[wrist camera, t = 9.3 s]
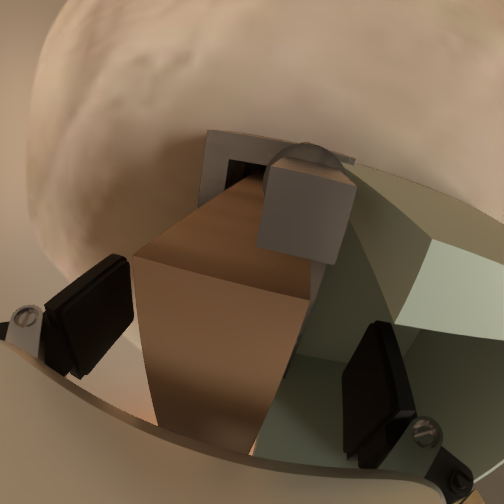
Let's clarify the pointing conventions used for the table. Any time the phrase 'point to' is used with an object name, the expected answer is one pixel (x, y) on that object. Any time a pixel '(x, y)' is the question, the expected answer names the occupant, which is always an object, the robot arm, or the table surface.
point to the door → (218, 319)
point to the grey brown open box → (287, 197)
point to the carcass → (403, 324)
